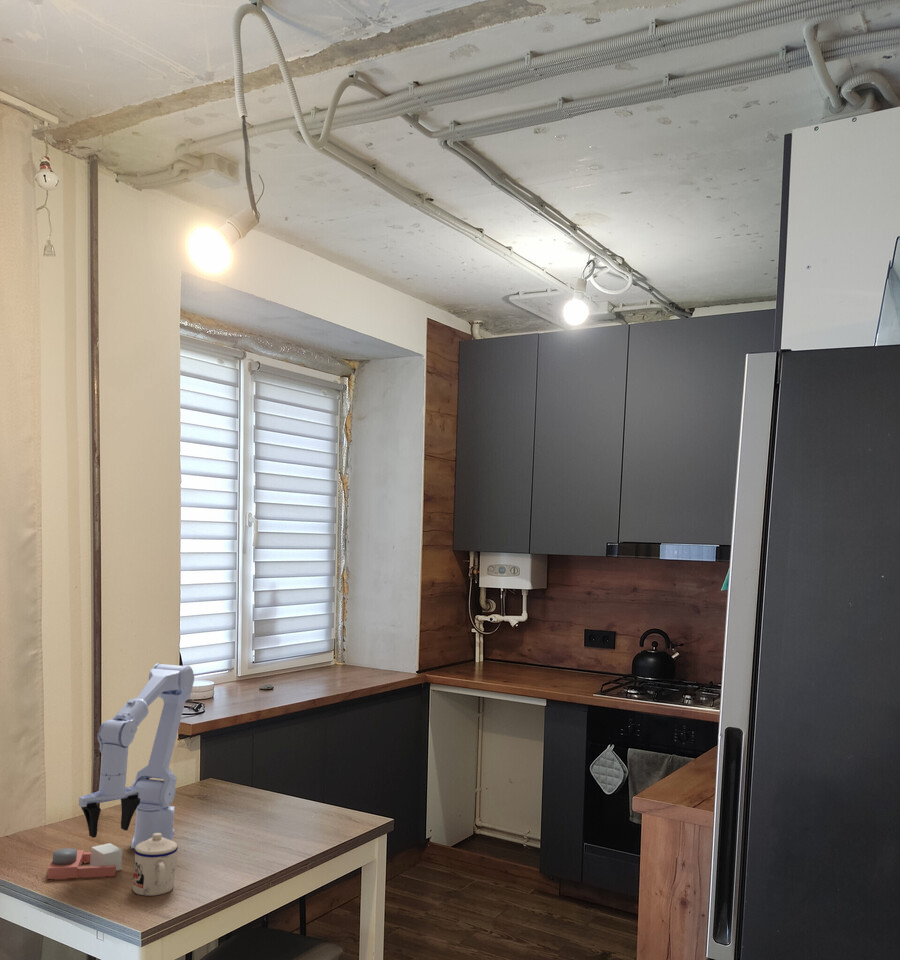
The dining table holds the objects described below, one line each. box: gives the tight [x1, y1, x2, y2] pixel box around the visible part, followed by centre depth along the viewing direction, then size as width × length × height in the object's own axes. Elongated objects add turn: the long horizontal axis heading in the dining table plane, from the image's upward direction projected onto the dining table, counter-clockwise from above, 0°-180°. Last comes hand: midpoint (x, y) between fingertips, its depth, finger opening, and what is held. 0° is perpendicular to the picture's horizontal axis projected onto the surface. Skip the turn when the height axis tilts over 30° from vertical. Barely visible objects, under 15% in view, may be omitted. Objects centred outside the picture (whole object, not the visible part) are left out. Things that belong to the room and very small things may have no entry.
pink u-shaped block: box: [47, 847, 117, 880], centre depth 199 cm, size 14×11×4 cm
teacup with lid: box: [132, 833, 178, 897], centre depth 189 cm, size 12×9×12 cm
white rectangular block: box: [89, 842, 123, 871], centre depth 200 cm, size 4×6×4 cm
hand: (108, 832), depth 200 cm, fingers open, 7 cm apart
